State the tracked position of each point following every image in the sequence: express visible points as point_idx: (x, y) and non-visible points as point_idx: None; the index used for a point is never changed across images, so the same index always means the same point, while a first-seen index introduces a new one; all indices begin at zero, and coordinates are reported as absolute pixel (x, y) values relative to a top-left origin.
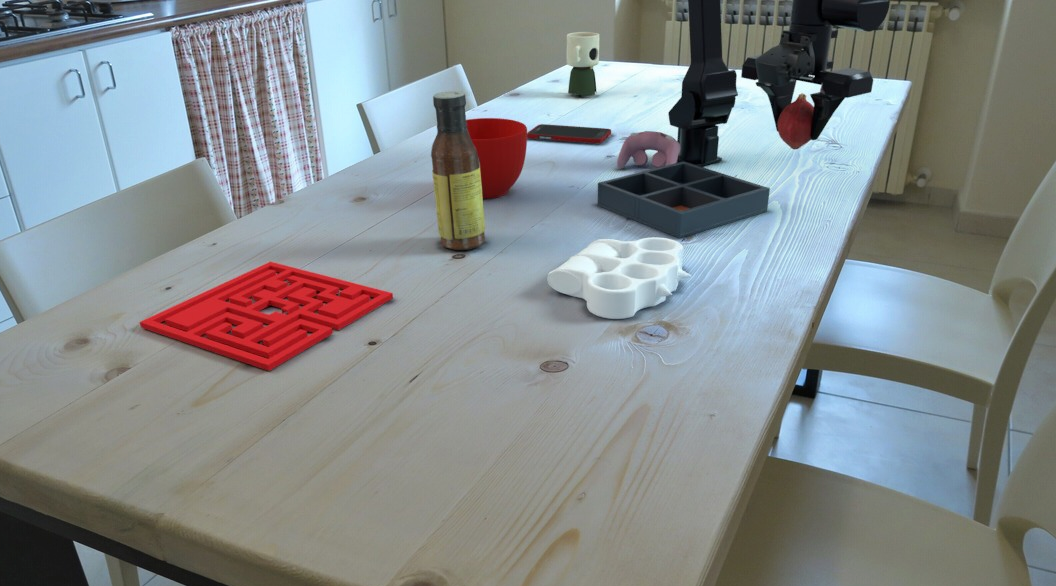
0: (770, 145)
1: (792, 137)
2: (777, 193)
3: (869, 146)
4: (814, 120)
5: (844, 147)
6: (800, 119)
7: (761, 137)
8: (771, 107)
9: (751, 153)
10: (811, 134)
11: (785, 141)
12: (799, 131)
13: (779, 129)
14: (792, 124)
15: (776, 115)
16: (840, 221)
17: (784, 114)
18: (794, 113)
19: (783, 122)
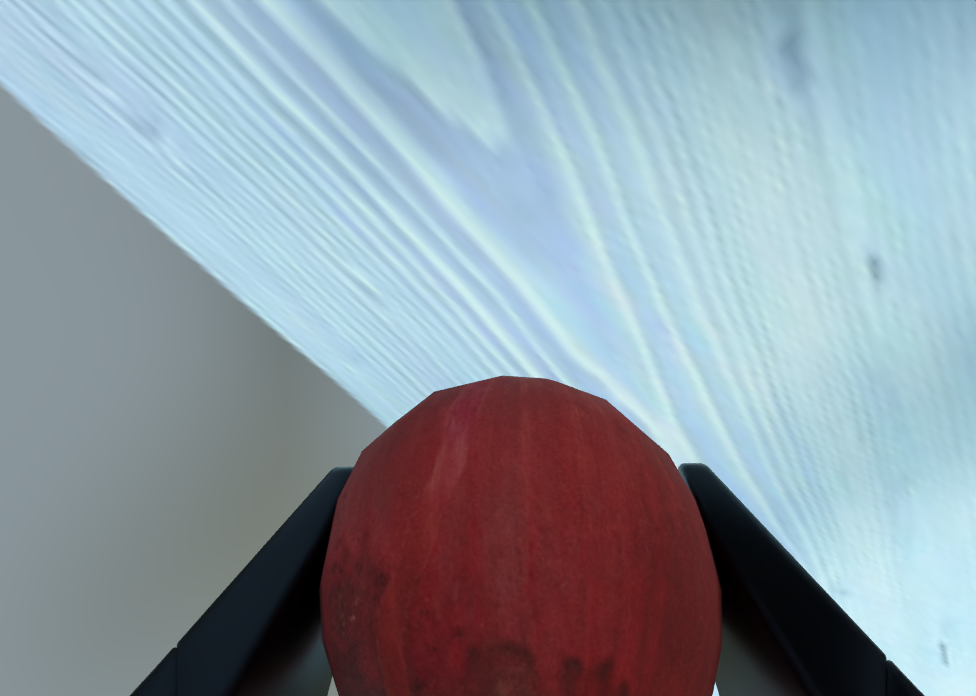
0: (899, 555)
1: (432, 400)
2: (573, 236)
3: None
4: (232, 626)
5: None
6: (354, 592)
7: (960, 581)
8: (908, 680)
9: (931, 485)
10: (329, 498)
11: (532, 378)
12: (369, 468)
13: (600, 428)
14: (421, 502)
15: (772, 590)
16: (131, 171)
17: (586, 606)
18: (439, 655)
19: (551, 495)
